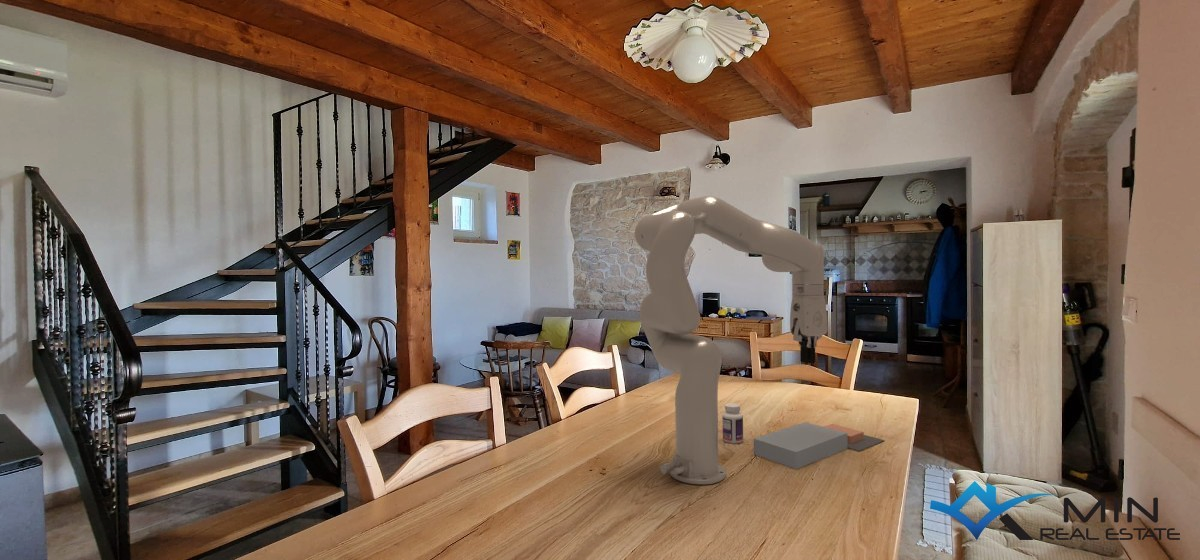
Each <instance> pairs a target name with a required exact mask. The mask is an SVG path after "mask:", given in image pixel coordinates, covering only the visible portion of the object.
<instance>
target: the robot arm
mask: <svg viewBox="0 0 1200 560" xmlns="http://www.w3.org/2000/svg"><path fill="white" fill-rule="evenodd" d="M634 229H635V230H634V238H635V241H636V244H637V245H638V246H639V247H640V248H641V249H643V250H645V251H647V252H649V254H648V256H647V260H646V265H645V276H646V280H647V283H648V287H649V289H650V293H649V294H647V295H646V296H645V297H644V298H643V299H642V301H641V304H640V306H639V320H640V324H641V325H642V329H643V331H644V334H645V336H646V338H647V341H648V344H649V347H650V349H651V352H652V354H653V356H654V358H655V359H656V361H657V363H658V364H659V366H660V367H662V368H663V369H665V370H667V371H670V372H673V373H676V374H679V375H680V378H679V380H678V382H677V386H676V388H675V395H674V407H675V409H674V410H675V414H674V415H675V416H674V417H675V419H674V420H675V454H673V455H672V460H671V461H670V462H667V463H663V464H660V466H659V469H660V472H661V474H664V475H665V474H667V473H669V475H670V476H671V477H672V478H673V479H674V480H677V481H679V482H682V483H685V484H691V485H712V484H717V483H719V482H721V481H722V480H724V479H725V477H726V475H727V474H726V469H725V467H724V466H723V465H722V464H720V463H719V412H718V411H719V406H718V404H719V403H718V401H719V400H718V398H719V397H718V396H719V395H718V393H719V391H718V390H719V378H720V373H721V367H722V363H723V358H722V353H721V350H720V347H719V346H718V344H717V343H716V342H715V341H713V340H712V339H710V338H709V337H705V336H703V335H697V334H694V332H695V331H696V330H698V328H699V326H700V323H701V314H700V310H699V306H698V304H697V302H696V301H697V300H696V298H695V295H694V293H693V291H692V288H691V285H690V282H689V280H688V276H687V273H686V269H685V264H686V263H685V261H686V256H687V253H688V251H689V249H690V246H691V244H692V243H693V241H694V238H695V235H701V234H702V235H703V234H704V235H707V236H709V237H711V238H713V239H715V240H716V241H718V242H721V243H722V244H724V245H726V246H729V247H730V248H731V249H733V250H735V251H739V252H743V253H746V254H752V255H753V254H754V255H761V260H762V264H763V265H764V267H766V269H768V270H770V271H772V272H773V273H774V272H775V273H776V272H777V273H790V272H791V274H792V276H791V277H792V279H791V280H792V281H791V283H792V284H791V285H792V286H791V287H792V288H791V293H792V294H791V297H792V298H791V305H790V313H789V315H790V316H789V318H790V319H789V329H790V330H789V331H790V333H791V334H792V335H793V338H792V339H793V341H795V342H798V347H800V353H799V354H800V356H799V357H800V362H801V363H805V364H815V363H816V347H817V344H818V343H817V342H818V340H819V339H821V338H823V335H825V334H827V333H828V312H827V303H826V299H825V294H824V293H825V292H824V287H825V286H824V283H825V281H824V273H825V272H824V271H825V270H824V268H825V267H824V265H825V263H824V262H825V261H824V259H825V257H824V256H825V255H824V252H825V251H824V246H823V245H822V244H821V243H816V242H815V243H814V241H812V240H811V239H809V238H808V237H806V236H805V235H804V234H801V233H799V232H797V231H795V230H793V229H790V228H788V227H784V226H781V225H778V224H774V223H772V222H767V221H764V220H760V219H757V218H754V217H752V216H751V215H749V214H748V213H745V212H743V211H742V210H740V209H739V208H737V207H735V206H734V205H731V204H730V203H729V202H727V201H725V200H723V199H721V198H719V197H717V196H713V195H707V196H701V197H700V196H699V197H696V198H690V199H686V200H684V201H681V202H678V203H676V204H674V205H671V206H668V207H666V208H663V209H662V210H658V211H656V212H653V213H651V214H649V215H645V216H644V217H643V218H641V219H640V220H639V221H638V222H637V224H636V226H635V228H634ZM692 333H693V334H692Z"/></svg>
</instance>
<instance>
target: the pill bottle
mask: <svg viewBox="0 0 1200 560" xmlns="http://www.w3.org/2000/svg"><path fill="white" fill-rule="evenodd" d="M740 411H741V405H740V404H739V403H734V402H732V403H731V402H729V403H725V404H724V412H722V418H721V419H722V421H721V423H722V440H723V441H724V442H725V443H727V444H741V443H743V442H744V416H743V414H742V412H740Z"/></svg>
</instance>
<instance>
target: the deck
mask: <svg viewBox="0 0 1200 560" xmlns="http://www.w3.org/2000/svg"><path fill="white" fill-rule="evenodd" d="M845 450H848V449H847V433H845V432H841V431H837V430H833V429H830V428H826V427H823V426H821V425H817V424H815V423H809V422H807V421H806V422H805V421H804V422H801V423H798V424H795V425H791V426H789V427H786V428H782V429H779V430H776V431H773V432H770V433H767V434H763V435H761V436H757V437H754V438H753V455H754V456H758V457H760V458H763V459H766V460H769V461H772V462H774V463H778V464H779V465H782V466H785V467H789V468H791V469H795V470H797V469H800V468H802V467H805V466H808V465H810V464H811V465H812V464H813V463H815V462H817V461H820V460H823V459H825V458H828V457H831V456H833V455H836V454H838V453H841V452H842V451H845Z"/></svg>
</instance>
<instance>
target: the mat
mask: <svg viewBox="0 0 1200 560" xmlns="http://www.w3.org/2000/svg"><path fill="white" fill-rule="evenodd" d="M885 440H886V439H881V438H878V437H874V436H870V435H867V434H864V439H863V440H861V441H858V442H855V443H852V444H849V443H847V449H846V450H852V451H855V452H858V453H860V452H862V451H864V450H867V449H870V448H872V447H874V446H876V445H879V444H883V443H884V442H885Z"/></svg>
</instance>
